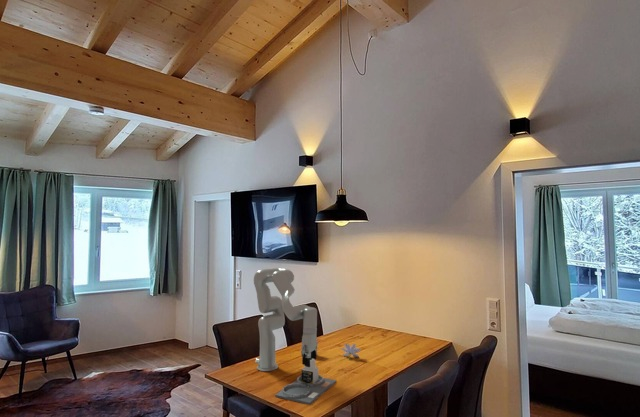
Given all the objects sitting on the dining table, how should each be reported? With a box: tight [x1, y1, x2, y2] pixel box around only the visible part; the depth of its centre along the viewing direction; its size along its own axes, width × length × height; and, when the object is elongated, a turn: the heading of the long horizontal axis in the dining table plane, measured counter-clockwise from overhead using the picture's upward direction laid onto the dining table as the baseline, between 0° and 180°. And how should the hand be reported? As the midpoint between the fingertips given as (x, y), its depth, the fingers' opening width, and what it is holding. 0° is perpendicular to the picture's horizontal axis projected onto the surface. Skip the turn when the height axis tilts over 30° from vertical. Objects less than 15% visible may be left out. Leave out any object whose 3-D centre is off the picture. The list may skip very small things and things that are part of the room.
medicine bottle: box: [300, 357, 319, 384], centre depth 206 cm, size 7×7×12 cm
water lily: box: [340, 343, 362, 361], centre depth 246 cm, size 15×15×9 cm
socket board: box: [274, 377, 337, 405], centre depth 198 cm, size 20×30×1 cm, turn 153°
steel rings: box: [282, 374, 324, 398], centre depth 199 cm, size 14×29×2 cm, turn 153°
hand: (309, 361), depth 207 cm, fingers open, 9 cm apart
